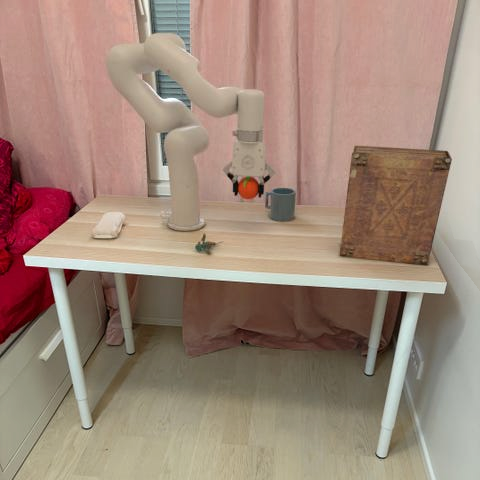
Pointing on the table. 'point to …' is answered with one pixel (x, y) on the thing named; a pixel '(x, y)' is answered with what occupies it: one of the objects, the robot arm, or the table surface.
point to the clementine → (248, 187)
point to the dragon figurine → (205, 245)
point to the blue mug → (281, 203)
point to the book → (393, 203)
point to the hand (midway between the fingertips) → (248, 195)
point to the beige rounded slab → (109, 225)
